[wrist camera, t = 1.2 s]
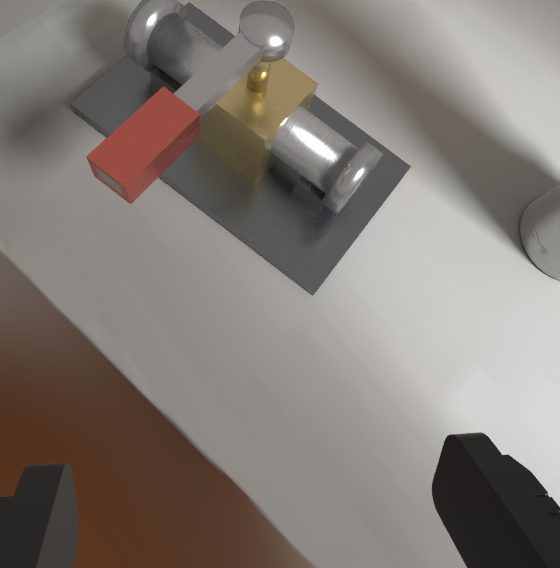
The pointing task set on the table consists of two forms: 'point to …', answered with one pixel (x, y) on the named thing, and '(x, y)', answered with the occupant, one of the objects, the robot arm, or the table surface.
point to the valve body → (252, 145)
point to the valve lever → (187, 104)
